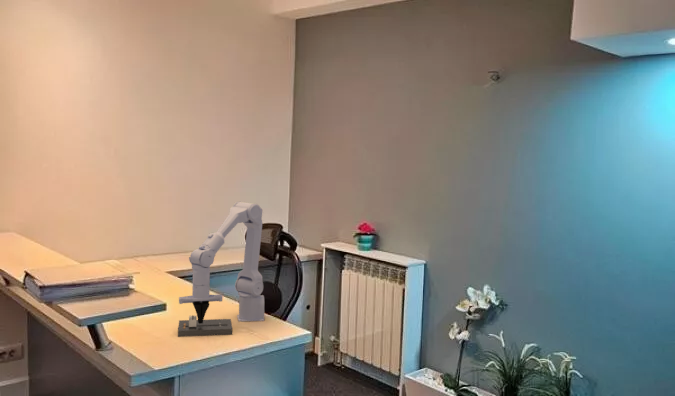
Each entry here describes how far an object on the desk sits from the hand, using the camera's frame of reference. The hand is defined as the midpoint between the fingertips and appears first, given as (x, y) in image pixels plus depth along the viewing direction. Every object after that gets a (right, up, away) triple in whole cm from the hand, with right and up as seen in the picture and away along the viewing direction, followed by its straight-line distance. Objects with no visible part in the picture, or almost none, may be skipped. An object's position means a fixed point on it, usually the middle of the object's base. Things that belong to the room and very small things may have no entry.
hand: (200, 322), depth 204 cm
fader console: (+1, -3, +2) cm, 4 cm away
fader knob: (-3, -1, -1) cm, 3 cm away
